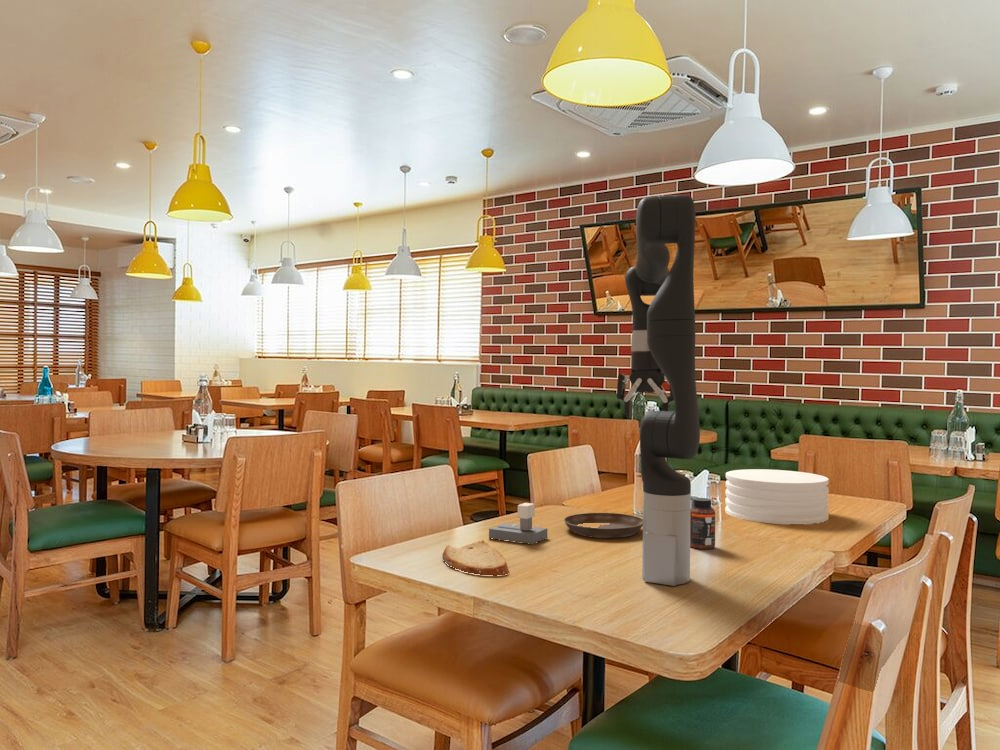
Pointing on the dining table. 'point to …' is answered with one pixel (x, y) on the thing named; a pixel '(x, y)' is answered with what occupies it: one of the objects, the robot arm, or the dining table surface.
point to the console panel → (517, 533)
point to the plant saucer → (617, 528)
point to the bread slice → (476, 559)
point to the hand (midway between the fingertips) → (646, 418)
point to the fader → (526, 515)
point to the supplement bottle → (702, 524)
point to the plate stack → (777, 496)
